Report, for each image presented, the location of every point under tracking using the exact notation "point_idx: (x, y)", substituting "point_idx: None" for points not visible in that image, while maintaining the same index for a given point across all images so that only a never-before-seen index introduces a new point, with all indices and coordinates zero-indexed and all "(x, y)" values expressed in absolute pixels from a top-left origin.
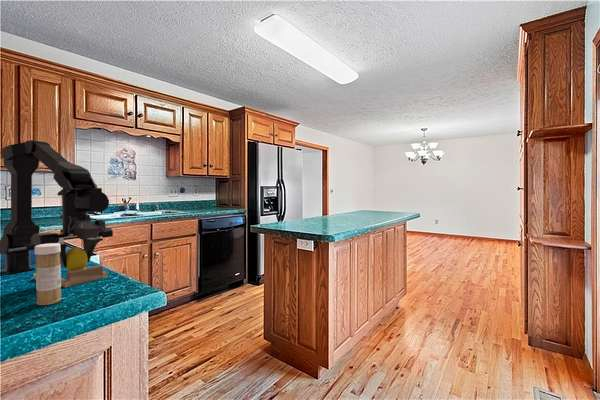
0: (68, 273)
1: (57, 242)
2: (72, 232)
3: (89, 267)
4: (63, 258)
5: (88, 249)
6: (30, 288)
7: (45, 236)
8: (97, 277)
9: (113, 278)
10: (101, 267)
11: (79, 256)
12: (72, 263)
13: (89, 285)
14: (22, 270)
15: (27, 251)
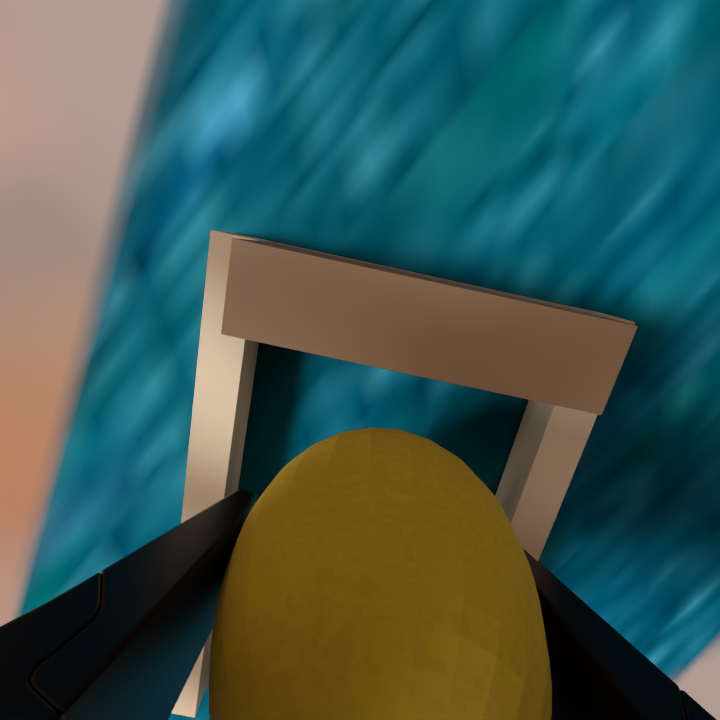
0: (614, 368)
1: None
2: None
3: (340, 355)
4: (627, 650)
5: (133, 674)
6: (648, 552)
7: None
8: (325, 253)
9: (251, 109)
10: (252, 243)
11: (439, 529)
12: (499, 506)
13: (513, 139)
14: None
15: None
